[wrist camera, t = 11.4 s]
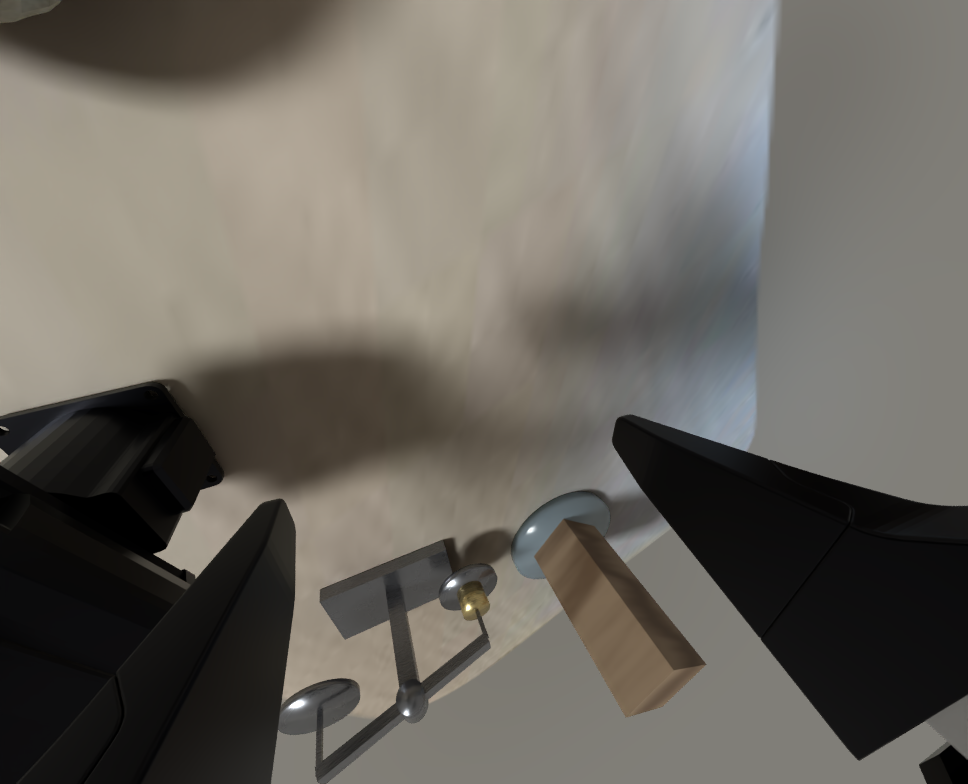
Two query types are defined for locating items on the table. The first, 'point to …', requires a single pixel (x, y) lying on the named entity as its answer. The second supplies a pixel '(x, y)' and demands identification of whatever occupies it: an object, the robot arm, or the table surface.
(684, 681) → the walnut block
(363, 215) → the table surface
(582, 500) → the slate dish
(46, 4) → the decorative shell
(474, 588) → the balance
